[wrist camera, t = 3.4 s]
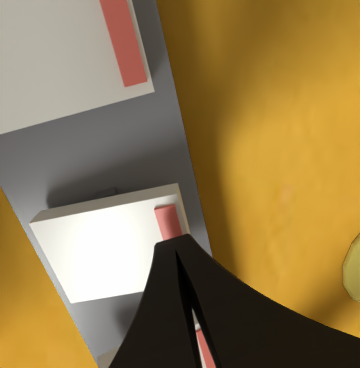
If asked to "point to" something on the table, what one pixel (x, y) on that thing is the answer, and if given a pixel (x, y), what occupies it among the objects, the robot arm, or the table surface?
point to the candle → (352, 270)
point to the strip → (105, 171)
